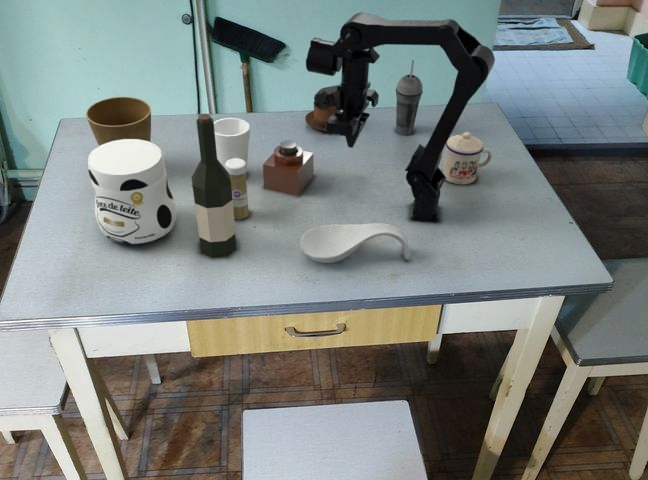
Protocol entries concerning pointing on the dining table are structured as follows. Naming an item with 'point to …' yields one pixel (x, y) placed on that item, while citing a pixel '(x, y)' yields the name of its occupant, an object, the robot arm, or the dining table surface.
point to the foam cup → (231, 139)
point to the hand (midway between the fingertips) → (350, 146)
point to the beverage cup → (407, 102)
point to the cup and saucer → (320, 117)
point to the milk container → (131, 191)
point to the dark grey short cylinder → (288, 148)
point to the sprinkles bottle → (238, 187)
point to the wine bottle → (213, 196)
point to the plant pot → (120, 119)
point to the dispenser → (288, 171)
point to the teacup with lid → (463, 158)
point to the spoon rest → (346, 240)
